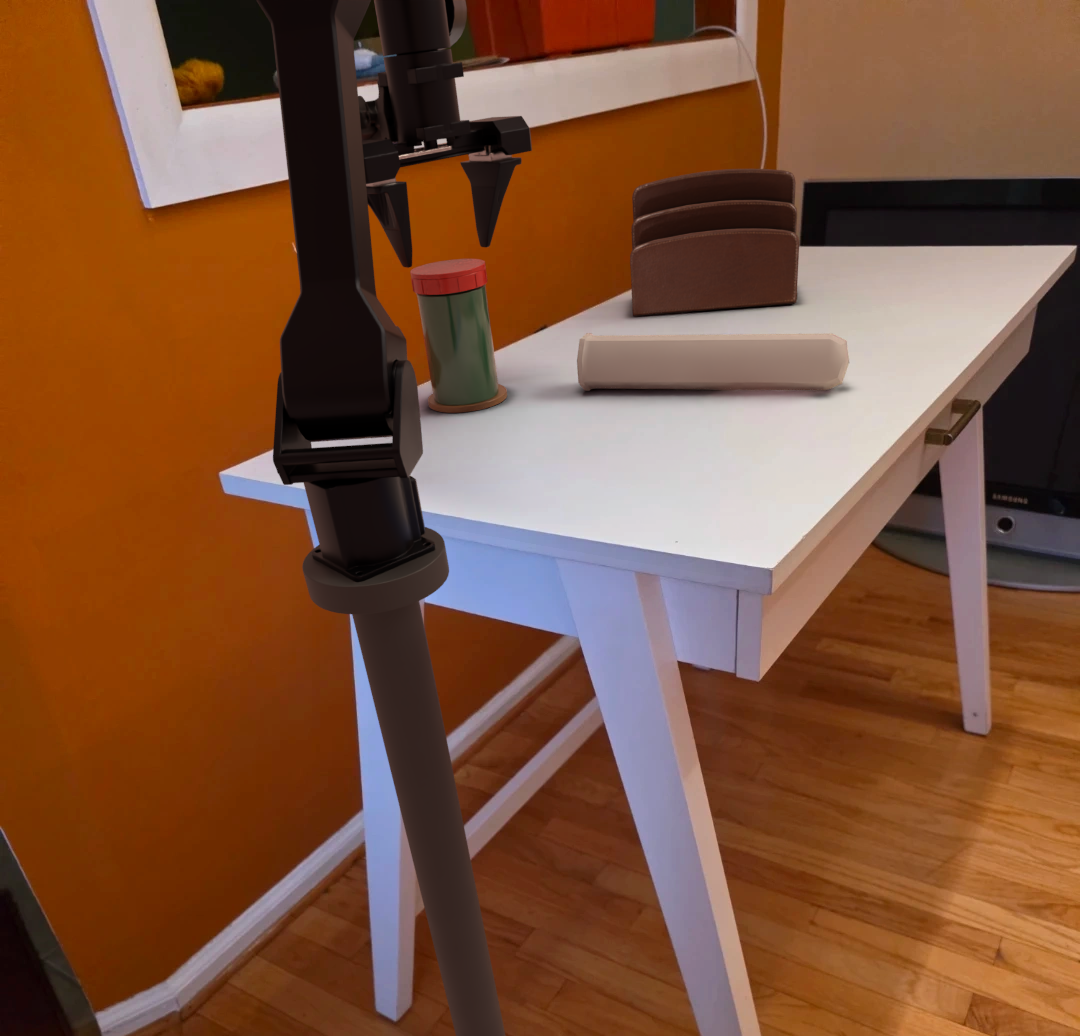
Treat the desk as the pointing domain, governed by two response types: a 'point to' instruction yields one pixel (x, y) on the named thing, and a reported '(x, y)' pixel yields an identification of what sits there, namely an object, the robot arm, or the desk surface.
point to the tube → (713, 362)
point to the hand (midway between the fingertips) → (447, 256)
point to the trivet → (470, 407)
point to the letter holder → (714, 242)
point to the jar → (459, 346)
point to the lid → (448, 276)
